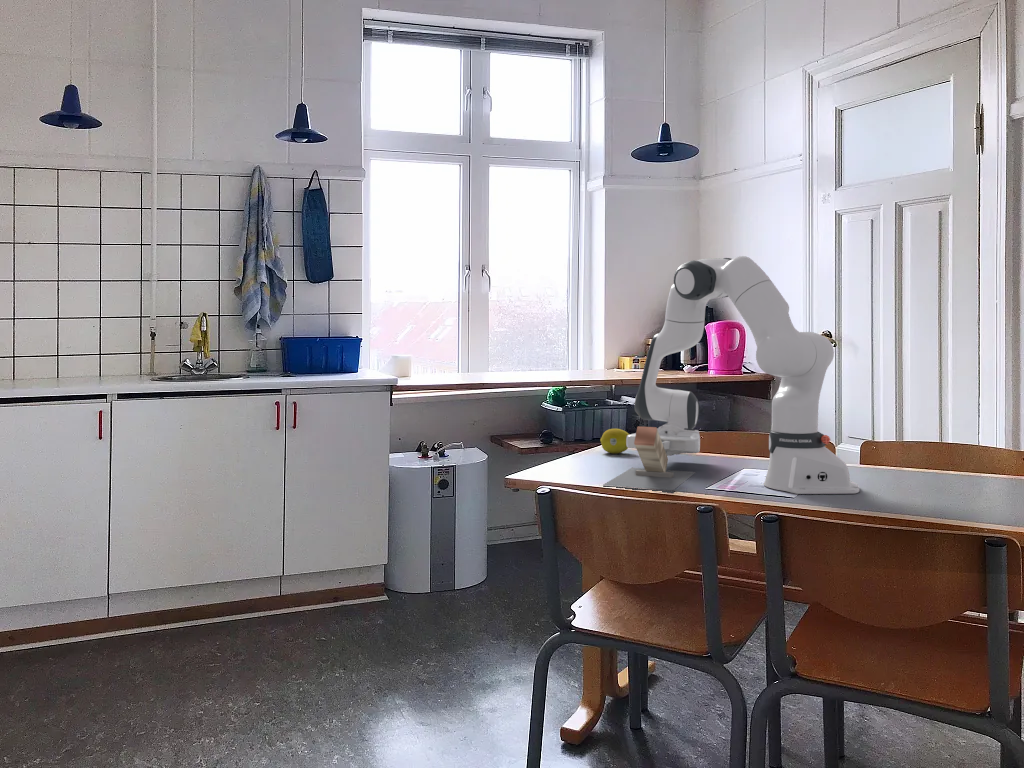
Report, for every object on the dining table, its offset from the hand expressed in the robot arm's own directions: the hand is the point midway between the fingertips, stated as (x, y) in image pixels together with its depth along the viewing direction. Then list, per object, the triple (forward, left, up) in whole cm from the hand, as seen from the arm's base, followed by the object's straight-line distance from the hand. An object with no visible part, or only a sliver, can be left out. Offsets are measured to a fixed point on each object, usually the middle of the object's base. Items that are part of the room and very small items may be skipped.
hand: (656, 446), depth 223 cm
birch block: (0, -1, -6) cm, 6 cm away
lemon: (+14, -37, -9) cm, 41 cm away
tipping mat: (+1, +6, -8) cm, 10 cm away
